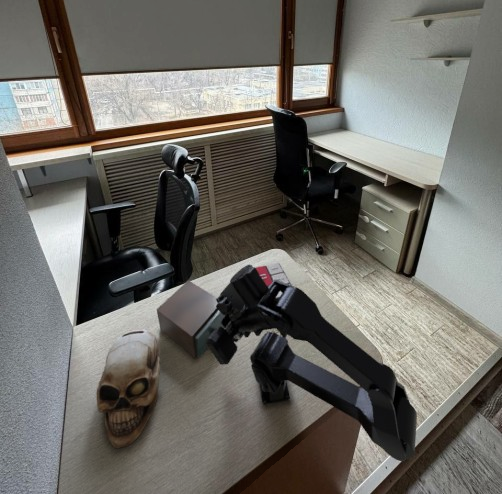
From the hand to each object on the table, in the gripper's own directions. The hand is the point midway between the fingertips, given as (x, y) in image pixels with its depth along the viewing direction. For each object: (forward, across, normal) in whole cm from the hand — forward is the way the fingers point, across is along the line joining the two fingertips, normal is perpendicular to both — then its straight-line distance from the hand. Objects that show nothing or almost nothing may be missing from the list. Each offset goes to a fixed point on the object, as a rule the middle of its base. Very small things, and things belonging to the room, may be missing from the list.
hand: (222, 322), depth 68 cm
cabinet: (+16, 0, 0) cm, 16 cm away
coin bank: (+16, +19, 0) cm, 25 cm away
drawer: (+14, 0, +1) cm, 14 cm away
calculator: (+7, -25, +8) cm, 27 cm away
